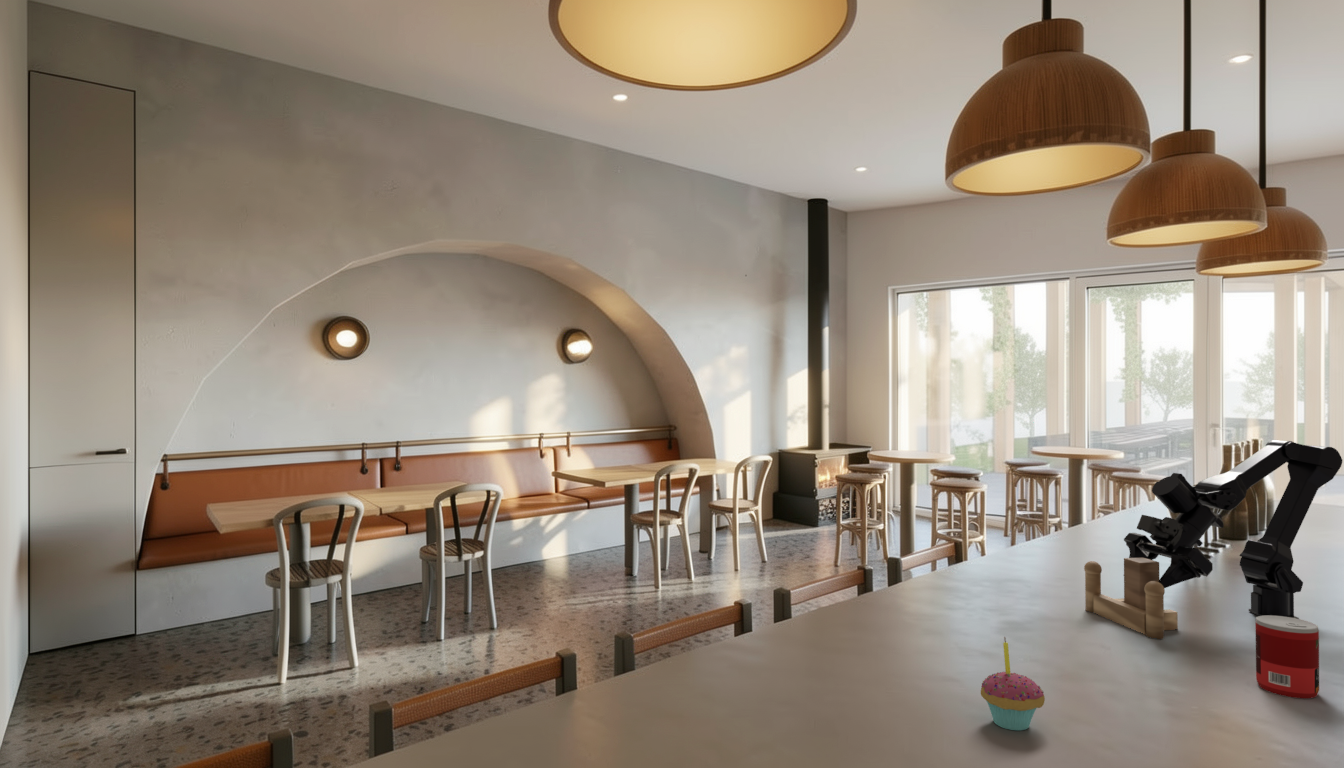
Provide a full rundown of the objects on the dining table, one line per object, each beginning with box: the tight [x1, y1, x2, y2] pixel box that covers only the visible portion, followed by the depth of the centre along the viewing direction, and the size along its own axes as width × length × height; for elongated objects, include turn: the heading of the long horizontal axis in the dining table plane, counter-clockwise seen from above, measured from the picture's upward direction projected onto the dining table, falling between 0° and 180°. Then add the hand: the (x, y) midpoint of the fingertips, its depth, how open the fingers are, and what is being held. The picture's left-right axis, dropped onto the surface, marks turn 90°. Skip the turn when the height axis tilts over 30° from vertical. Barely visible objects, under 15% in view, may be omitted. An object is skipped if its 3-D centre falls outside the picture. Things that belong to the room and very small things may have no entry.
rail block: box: [1123, 557, 1160, 611], centre depth 160 cm, size 5×5×13 cm
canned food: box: [1254, 615, 1320, 700], centre depth 124 cm, size 8×8×11 cm
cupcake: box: [980, 636, 1046, 731], centre depth 111 cm, size 9×8×12 cm
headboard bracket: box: [1083, 560, 1179, 640], centre depth 160 cm, size 10×21×11 cm, turn 7°
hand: (1141, 582), depth 160 cm, fingers open, 9 cm apart
